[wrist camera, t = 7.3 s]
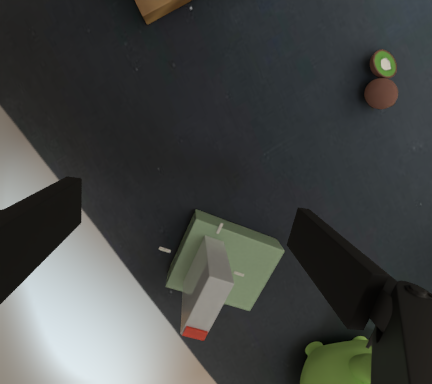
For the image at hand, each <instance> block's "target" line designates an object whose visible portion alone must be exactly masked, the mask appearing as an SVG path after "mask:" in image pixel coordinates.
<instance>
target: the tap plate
mask: <svg viewBox="0 0 432 384" xmlns="http://www.w3.org/2000/svg"><path fill="white" fill-rule="evenodd" d="M205 235H206V236H209V237H212V238H214V239H217V240H220V241H223V242H224V244H225V248H226V252H227V256H228V260H229V264H230V268H231V272H232V276H233V280H234V286H233V288H232V290H231V291H230V293H229V295H228V297H227V299H226V301H225V302H224V304H227V305H230V306H234V307H237V308H240V309H244V310H247V311H250V310H251V308H252V306H253V305H254V303H255V301H256V300H257V298H258V296H259V294H260V293H261V291H262V289H263V288H264V286H265V284H266V283H267V281H268V279H269V277H270V276H271V274H272V272H273V271H274V269H275V267H276V265H277V264H278V262H279V260H280V259H281V257H282V255H283V253H284V252H285V251H284V249H283V248H282V246H281V245H280V243H279V242H278V240H277V239H275V238H272V237H269V236H267V235H264V234H261V233H259V232H256V231H253V230H251V229H248V228H245V227H243V226H240V225H237V224H235V223H232V222H229V221H226V220H224V219H221V218H218V217H216V216H213V215H210V214H208V213H205V212H202V211H200V210H197V209H196V210H195V212H194V214H193V216H192V219H191V221H190V223H189V225H188V228H187V230H186V232H185V234H184V237H183V239H182V241H181V243H180V246H179V248H178V250H177V252H176V254H175V257H174V259H173V261H172V263H171V266H170V268H169V270H168V274H167V280H166V287H168V288H171V289H175V290H178V291H182V292H183V281H184V279H185V277H186V275H187V273H188V270H189V268H190V266H191V264H192V262H193V260H194V258H195V256H196V253H197V251H198V249H199V247H200V245H201V243H202V241H203V238H204V236H205ZM159 250H161V251H165V252H168V253H170V252H171V250H169V249H166V248H163V247H159Z"/></svg>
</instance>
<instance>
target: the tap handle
mask: <svg viewBox="0 0 432 384" xmlns="http://www.w3.org/2000/svg"><path fill="white" fill-rule="evenodd" d="M233 286H234V280H233V276H232V272H231V268H230V264H229V260H228V256H227V252H226V248H225V244H224V242H223V241H220V240H217V239H214V238H212V237H209V236H206V235H205V236H204V238H203V241H202V243H201V245H200V247H199V249H198V251H197V253H196V256H195V258H194V260H193V262H192V264H191V266H190V268H189V270H188V273H187V275H186V277H185V279H184V281H183V294H182V313H181V332H180V334H181V335H182V336H186V337H190V338H194V339H198V340H202V341H204V340H205V338H206V336H207V334H208V332H209V330H210V328H211V327H212V325H213V323H214V321H215V319H216V317H217V315H218V314H219V312H220V310H221V308H222V306H223V304H224V302H225V301H226V299H227V297H228V295H229V293H230V291H231V290H232V288H233Z"/></svg>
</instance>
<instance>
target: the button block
mask: <svg viewBox="0 0 432 384" xmlns="http://www.w3.org/2000/svg"><path fill="white" fill-rule="evenodd" d="M190 1H192V0H135V2H136V4H137V6H138V8H139V10H140V12H141V14H142V16H143V18H144V20H145V22H146V24H147V25H148V24H150V23H152V22H154V21H155V20H157V19H159V18H161V17H163V16H164V15H166V14H168V13H170V12H172V11H174V10H175V9H177V8H179V7H181V6H183V5H185V4H186V3H188V2H190Z"/></svg>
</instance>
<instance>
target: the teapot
mask: <svg viewBox="0 0 432 384" xmlns="http://www.w3.org/2000/svg"><path fill="white" fill-rule="evenodd" d="M368 341H369V340H367V339H366V338H365V337H363V336H358V337H355V338H354V339H352V340H351V341H345V342H338V343H333V344H328V345H324V346H323V344H322V343H321V342H312V343H310V344H309V345H307V347H306V349H305V352H306V354H307V355H308V357H307V359H306V361H305V364H304V367H303V370H302V373H301V377H300V384H371V356H372V346H370V347H369V349H368V348H366V345H367V343H368Z"/></svg>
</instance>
